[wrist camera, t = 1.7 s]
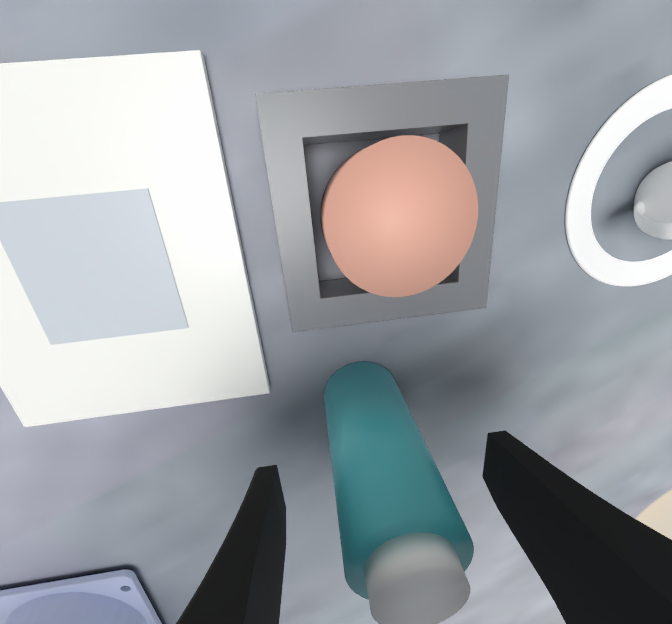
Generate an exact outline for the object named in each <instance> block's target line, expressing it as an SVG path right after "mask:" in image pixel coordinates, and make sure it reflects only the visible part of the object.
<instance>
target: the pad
mask: <svg viewBox="0 0 672 624" xmlns="http://www.w3.org/2000/svg"><path fill="white" fill-rule="evenodd" d="M0 386H1V388H2V390H3V391H4V393H5V395H6V396H7V398H8V400H9V402H10V403H11V405H12V407H13V408H14V410H15V412H16V413H17V415H18V417H19V419H20V420H21V422H22V424H23V425H24V427H29V426H36V425H44V424H51V423H58V422H65V421H73V420H80V419H87V418H94V417H101V416H109V415H116V414H123V413H130V412H138V411H145V410H152V409H159V408H166V407H174V406H181V405H188V404H195V403H203V402H210V401H217V400H224V399H231V398H239V397H246V396H253V395H260V394H268V393H270V385H269V380H268V375H267V370H266V365H265V360H264V355H263V350H262V345H261V340H260V335H259V330H258V325H257V320H256V315H255V310H254V305H253V300H252V295H251V290H250V285H249V280H248V275H247V270H246V265H245V260H244V255H243V250H242V245H241V240H240V235H239V230H238V225H237V220H236V215H235V210H234V205H233V200H232V195H231V190H230V185H229V180H228V175H227V170H226V165H225V160H224V155H223V150H222V145H221V140H220V135H219V130H218V125H217V120H216V115H215V110H214V105H213V100H212V95H211V90H210V85H209V80H208V75H207V70H206V65H205V60H204V55H203V54H202V53H201V51H200V50H197V51H182V52H167V53H152V54H137V55H122V56H107V57H92V58H77V59H62V60H47V61H32V62H17V63H2V64H0Z"/></svg>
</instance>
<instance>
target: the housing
mask: <svg viewBox="0 0 672 624" xmlns="http://www.w3.org/2000/svg"><path fill="white" fill-rule="evenodd" d="M508 81H509V75H497V76H484V77H471V78H458V79H445V80H432V81H419V82H406V83H393V84H380V85H367V86H354V87H341V88H327V89H314V90H301V91H288V92H275V93H262V94H255V96H256V103H257V109H258V116H259V122H260V129H261V135H262V141H263V148H264V154H265V161H266V167H267V173H268V180H269V186H270V193H271V199H272V205H273V212H274V218H275V225H276V231H277V238H278V244H279V250H280V257H281V263H282V270H283V276H284V282H285V289H286V295H287V302H288V308H289V314H290V321H291V327H292V332H298V331H306V330H314V329H322V328H329V327H337V326H345V325H353V324H361V323H369V322H377V321H385V320H393V319H401V318H409V317H416V316H424V315H432V314H440V313H448V312H456V311H464V310H472V309H480V308H486V303H487V293H488V283H489V273H490V263H491V253H492V243H493V233H494V223H495V213H496V202H497V192H498V182H499V172H500V162H501V152H502V142H503V132H504V122H505V112H506V101H507V91H508ZM431 133H440V143H442V144H444V145H445V146H446V147H448V148H449V149H451V150H452V151H453V152H454V153H455V154H456V155H457V156H458V157H459V158H460V159H461V160H462V161H463V163H464V164H465V165H466V167H467V169H468V170H469V172H470V174H471V176H472V179H473V181H474V184H475V188H476V192H477V198H478V220H477V227H476V230H475V234H474V237H473V240H472V243H471V245H470V247H469V249H468V251H467V253H466V255H465V256H464V258H463V259H462V261H461V262H460V264H459V265H458V266H457V267H456V268H455V270H454V271H453V272H452V273H451V274H450V275H448V276H447V277H446V278H445V279H444V280H442V281H441V282H440V283H438V284H437V285H435V286H433V287H432V288H430V289H428V290H425V291H423V292H421V293H417V294H414V295H410V296H405V297H385V296H380V295H376V294H373V293H370V292H367V291H365V290H363V289H361V288H360V287H358V286H357V285H355V284H354V283H352V282H351V281H350V280H349V279H348V278H343V279H335V280H326V281H318V273H317V264H316V255H315V246H314V237H313V229H312V220H311V211H310V202H309V193H308V185H307V176H306V167H305V158H304V149H303V145H306V144H317V143H328V142H340V141H351V140H363V139H374V138H385V137H396V136H402V135H420V134H431Z"/></svg>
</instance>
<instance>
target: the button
mask: <svg viewBox="0 0 672 624" xmlns="http://www.w3.org/2000/svg"><path fill="white" fill-rule="evenodd" d="M320 215H321V227H322V232H323V235H324V239H325V241H326V243H327V246H328V248H329V250H330V252H331V254H332V257H333V259H334V261H335V263H336V264H337V266H338V267H339V269H340V270H341V271H342V273H343V274H344V275H345V276H346V277H347V278H348V279H349V280H350V281H351V282H352V283H354V284H355V285H357V286H358V287H360V288H361V289H363V290H365V291H367V292H370V293H373V294H376V295H380V296H385V297H405V296H410V295H414V294H417V293H421V292H423V291H425V290H428V289H430V288H432V287H433V286H435V285H437V284H438V283H440V282H441V281H442V280H444V279H445V278H446V277H447V276H448V275H450V274H451V273H452V272H453V271H454V270H455V268H456V267H457V266H458V265H459V264H460V262H461V261H462V259H463V258H464V256H465V255H466V253H467V251H468V249H469V247H470V245H471V243H472V240H473V237H474V234H475V230H476V227H477V220H478V198H477V192H476V188H475V184H474V181H473V179H472V176H471V174H470V172H469V170H468V169H467V167H466V165H465V164H464V163H463V161H462V160H461V159H460V158H459V157H458V156H457V155H456V154H455V153H454V152H453V151H452V150H451V149H449V148H448V147H446V146H445V145H444V144H442V143H439V142H437V141H435V140H433V139H430V138H426V137H422V136H415V135H402V136H396V137H391V138H388V139H384V140H381V141H379V142H377V143H375V144H373V145H371V146H369V147H367V148H364V149H362V150H360V151H358V152H356V153H355V154H353V155H352V156H350V157H349V158H348V159H347V160H345V161H344V162H343V163H342V164H341V165H340V166H339V168H338V169H337V170H336V171H335V173H334V174H333V176H332V177H331V179H330V180H329V182H328V185H327V187H326V189H325V192H324V195H323V199H322V204H321V213H320Z"/></svg>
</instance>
